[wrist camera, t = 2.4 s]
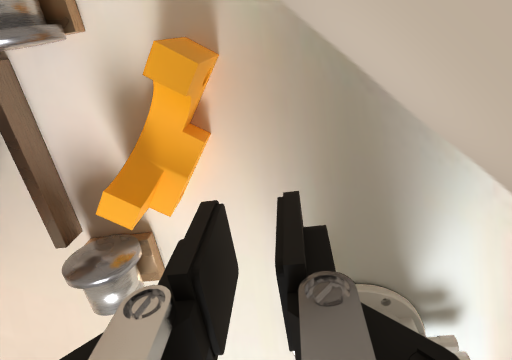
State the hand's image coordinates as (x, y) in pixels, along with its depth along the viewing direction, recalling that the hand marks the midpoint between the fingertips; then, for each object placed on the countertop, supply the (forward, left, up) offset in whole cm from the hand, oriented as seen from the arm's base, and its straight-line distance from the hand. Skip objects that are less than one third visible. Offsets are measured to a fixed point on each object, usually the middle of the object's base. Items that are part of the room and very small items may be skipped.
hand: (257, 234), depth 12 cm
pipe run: (+15, 0, -15) cm, 21 cm away
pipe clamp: (+7, -1, -16) cm, 17 cm away
